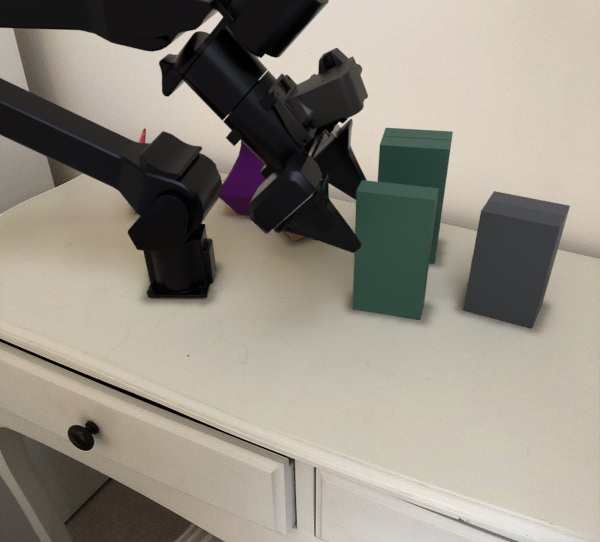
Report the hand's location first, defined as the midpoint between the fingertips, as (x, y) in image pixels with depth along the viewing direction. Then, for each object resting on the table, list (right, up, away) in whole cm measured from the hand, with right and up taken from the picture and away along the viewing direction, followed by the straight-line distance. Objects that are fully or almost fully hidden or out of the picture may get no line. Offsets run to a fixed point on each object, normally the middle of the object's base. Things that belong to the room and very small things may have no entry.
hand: (365, 224), depth 61 cm
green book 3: (+3, -7, +5) cm, 9 cm away
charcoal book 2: (+15, -7, +5) cm, 17 cm away
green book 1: (+6, +1, +14) cm, 16 cm away
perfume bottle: (-12, +8, +22) cm, 26 cm away
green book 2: (+6, 0, +12) cm, 14 cm away
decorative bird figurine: (-27, +10, +24) cm, 38 cm away
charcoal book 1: (+14, -8, +4) cm, 17 cm away
